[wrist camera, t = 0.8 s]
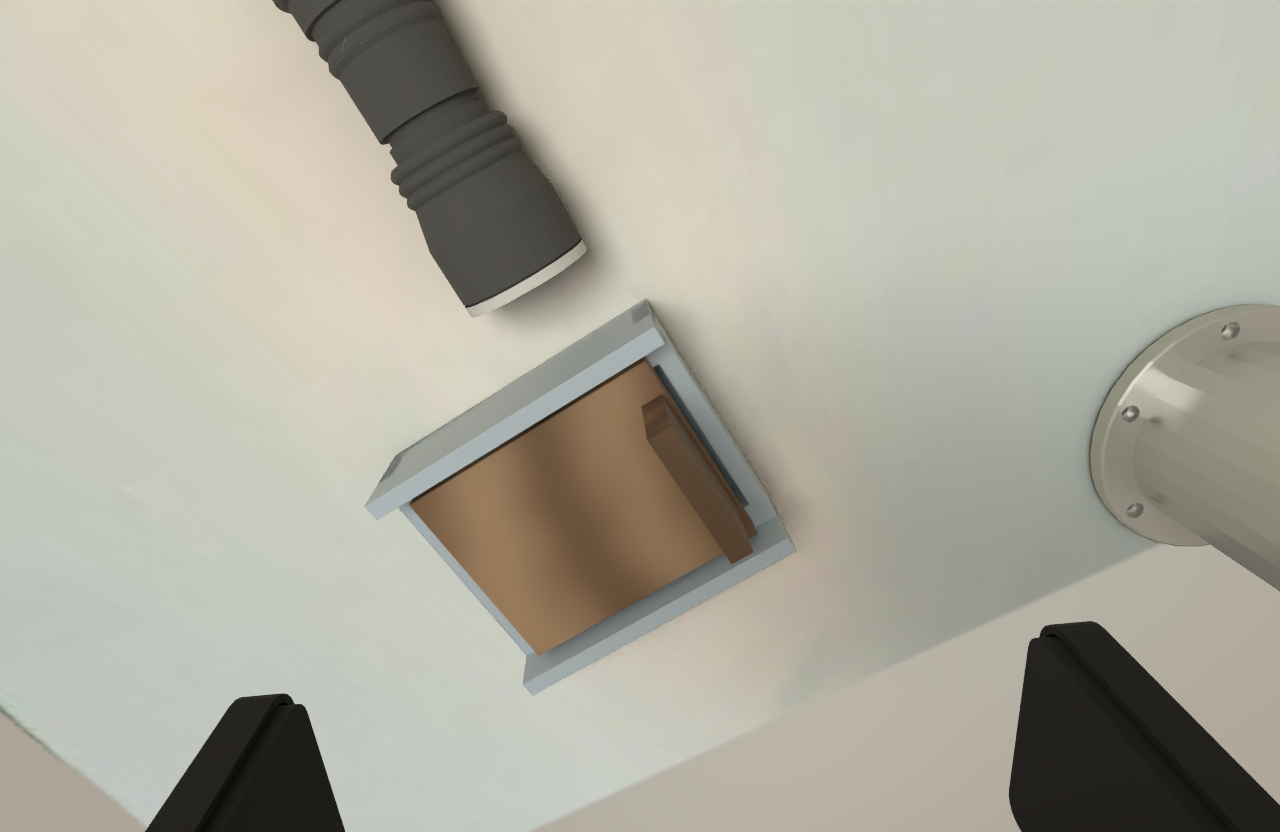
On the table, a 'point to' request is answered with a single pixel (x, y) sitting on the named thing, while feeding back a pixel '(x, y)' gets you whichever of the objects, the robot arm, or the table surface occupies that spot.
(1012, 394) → the table surface
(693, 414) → the light grey open box
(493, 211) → the flashlight
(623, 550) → the cover plate
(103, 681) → the table surface
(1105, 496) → the robot arm
